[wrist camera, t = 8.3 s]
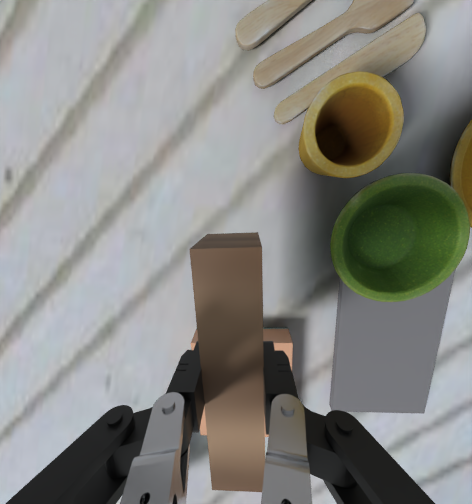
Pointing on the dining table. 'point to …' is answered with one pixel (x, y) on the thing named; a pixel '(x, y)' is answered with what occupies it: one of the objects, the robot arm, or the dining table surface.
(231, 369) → the walnut stick
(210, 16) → the dining table surface
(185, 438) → the robot arm
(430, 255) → the tableware set
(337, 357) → the rubber mat
